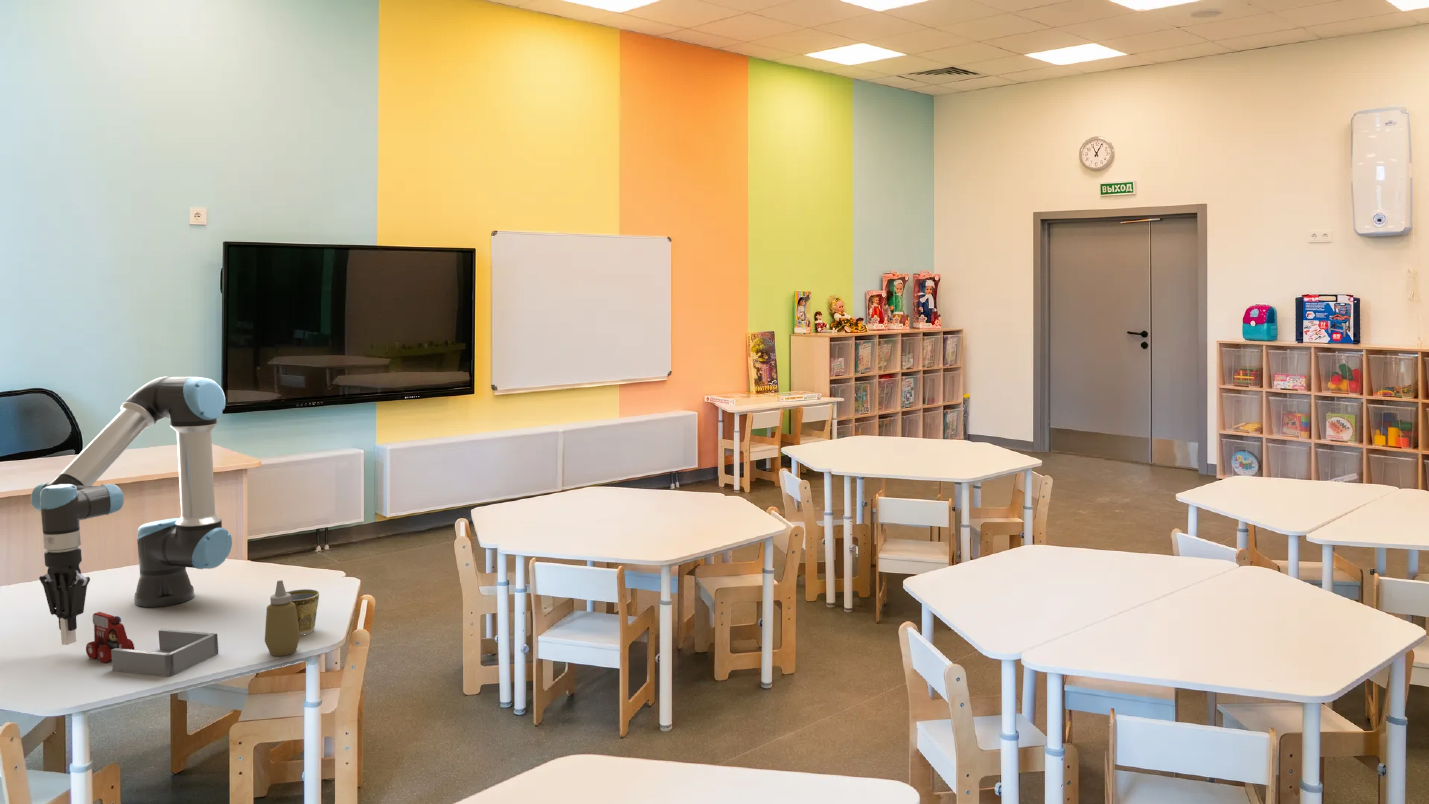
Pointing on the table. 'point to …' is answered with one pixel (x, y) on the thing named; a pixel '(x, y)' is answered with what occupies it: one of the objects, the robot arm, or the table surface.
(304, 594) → the ceramic cup
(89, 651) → the toy fire truck
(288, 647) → the squeeze bottle
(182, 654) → the box
